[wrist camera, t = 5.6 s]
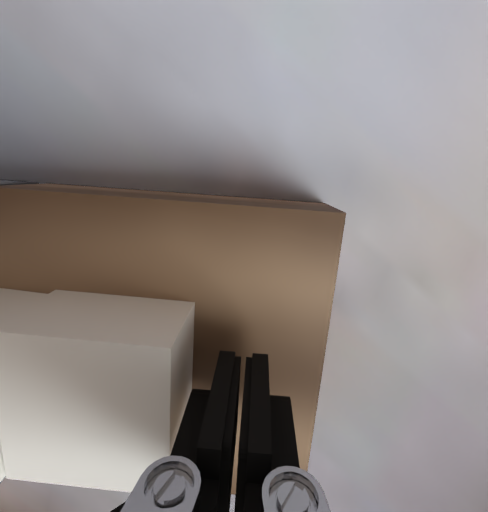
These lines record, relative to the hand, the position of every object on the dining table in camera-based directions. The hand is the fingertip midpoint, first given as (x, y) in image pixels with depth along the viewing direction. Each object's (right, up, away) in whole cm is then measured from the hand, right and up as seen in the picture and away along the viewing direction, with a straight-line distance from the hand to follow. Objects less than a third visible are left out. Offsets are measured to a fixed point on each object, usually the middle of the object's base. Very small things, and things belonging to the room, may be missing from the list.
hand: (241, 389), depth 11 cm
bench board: (-3, +1, +4) cm, 5 cm away
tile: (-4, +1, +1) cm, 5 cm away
